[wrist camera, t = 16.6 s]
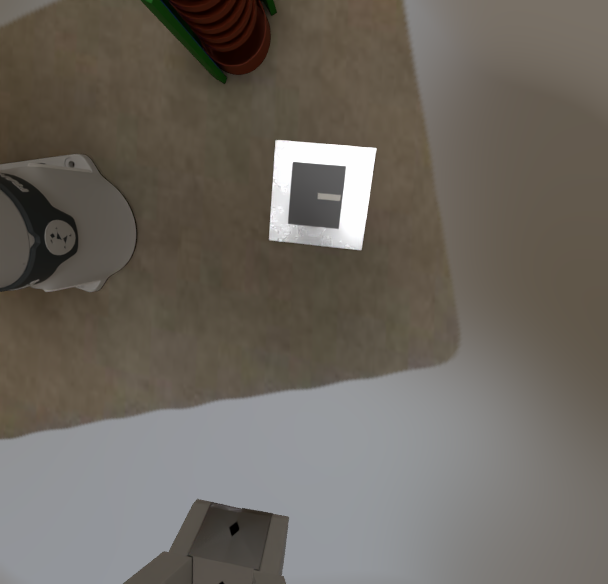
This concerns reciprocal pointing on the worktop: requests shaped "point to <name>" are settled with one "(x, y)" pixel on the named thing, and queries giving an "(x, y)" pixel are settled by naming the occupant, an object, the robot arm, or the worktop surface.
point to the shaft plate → (353, 199)
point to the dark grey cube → (316, 194)
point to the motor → (219, 31)
